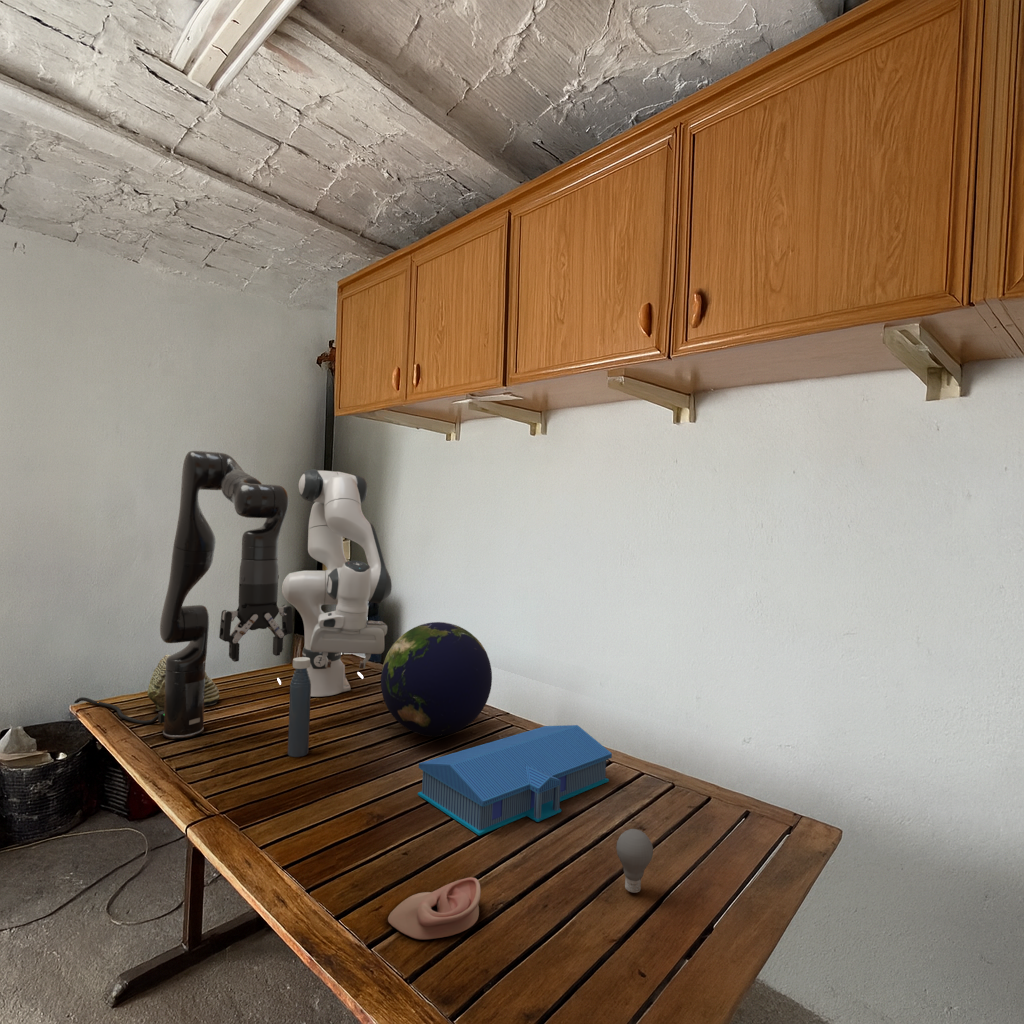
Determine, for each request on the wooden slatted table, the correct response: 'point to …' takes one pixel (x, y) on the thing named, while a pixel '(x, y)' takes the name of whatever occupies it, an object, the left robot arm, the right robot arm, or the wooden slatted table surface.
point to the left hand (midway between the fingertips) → (256, 657)
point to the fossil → (158, 687)
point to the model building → (514, 777)
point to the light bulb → (634, 857)
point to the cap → (301, 662)
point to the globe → (436, 679)
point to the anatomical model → (439, 911)
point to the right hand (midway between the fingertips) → (345, 667)
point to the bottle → (299, 713)
